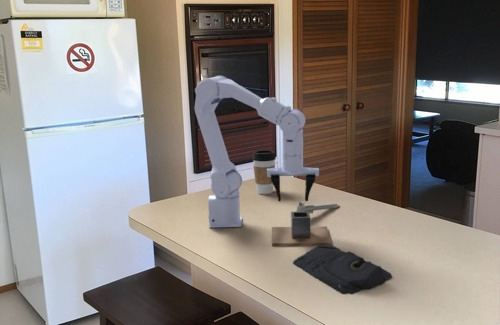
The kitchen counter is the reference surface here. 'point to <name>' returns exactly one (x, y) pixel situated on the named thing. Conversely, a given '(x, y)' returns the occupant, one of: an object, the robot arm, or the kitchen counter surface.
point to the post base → (284, 238)
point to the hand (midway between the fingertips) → (292, 200)
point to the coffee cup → (263, 170)
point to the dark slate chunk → (341, 269)
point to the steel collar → (300, 224)
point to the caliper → (314, 207)
